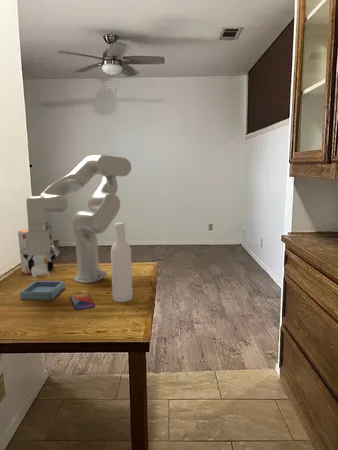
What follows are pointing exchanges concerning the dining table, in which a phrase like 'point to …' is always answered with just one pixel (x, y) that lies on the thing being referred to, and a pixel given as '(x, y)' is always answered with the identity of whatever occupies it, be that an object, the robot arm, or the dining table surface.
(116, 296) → the bottle
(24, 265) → the cracker box
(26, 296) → the tray
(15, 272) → the dining table surface
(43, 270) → the garlic
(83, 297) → the smartphone
